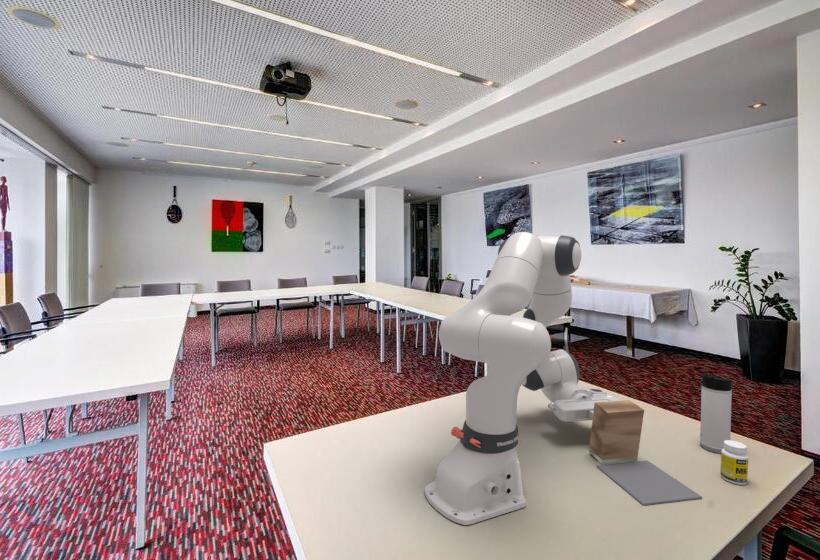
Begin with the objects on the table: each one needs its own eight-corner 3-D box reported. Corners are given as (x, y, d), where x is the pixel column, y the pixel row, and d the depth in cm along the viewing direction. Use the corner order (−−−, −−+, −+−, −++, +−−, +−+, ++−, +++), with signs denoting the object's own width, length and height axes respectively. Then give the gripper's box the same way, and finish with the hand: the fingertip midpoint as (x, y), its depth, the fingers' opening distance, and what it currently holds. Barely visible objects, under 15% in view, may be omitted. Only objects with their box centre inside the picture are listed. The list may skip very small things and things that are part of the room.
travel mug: (693, 445, 103) (695, 373, 102) (710, 441, 105) (712, 370, 104) (718, 456, 97) (720, 379, 96) (735, 452, 99) (738, 377, 98)
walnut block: (588, 451, 99) (594, 402, 96) (623, 448, 100) (629, 400, 98) (601, 464, 94) (607, 412, 91) (637, 460, 95) (644, 409, 93)
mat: (596, 466, 92) (596, 465, 92) (647, 461, 95) (647, 460, 95) (643, 505, 78) (643, 503, 78) (702, 498, 80) (702, 496, 80)
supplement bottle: (737, 487, 84) (738, 450, 83) (715, 475, 88) (716, 440, 88) (752, 483, 85) (754, 447, 85) (730, 472, 90) (731, 437, 89)
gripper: (545, 393, 110) (572, 411, 96) (608, 389, 113) (643, 406, 99) (544, 414, 110) (572, 435, 97) (607, 410, 113) (643, 430, 100)
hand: (609, 420), depth 98 cm, fingers closed
